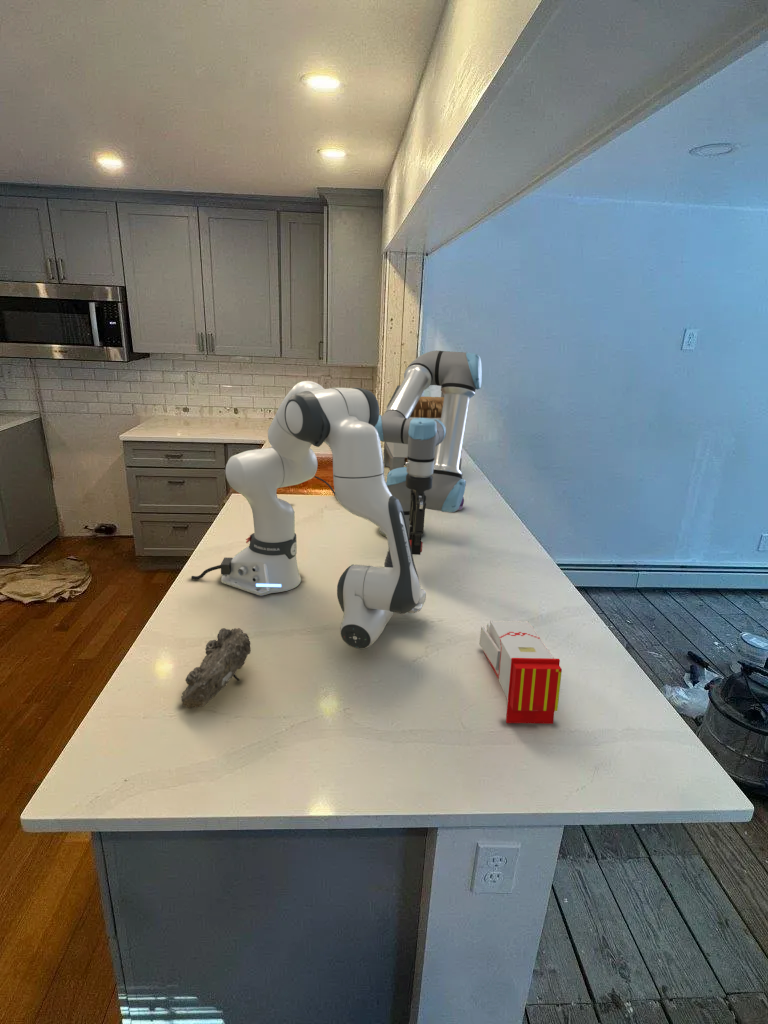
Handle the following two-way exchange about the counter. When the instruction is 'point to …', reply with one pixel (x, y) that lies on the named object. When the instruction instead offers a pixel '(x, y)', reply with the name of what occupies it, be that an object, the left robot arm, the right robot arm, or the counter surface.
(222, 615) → the counter surface
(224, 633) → the fossil
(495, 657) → the toy
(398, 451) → the white wooden crate
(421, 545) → the cap
